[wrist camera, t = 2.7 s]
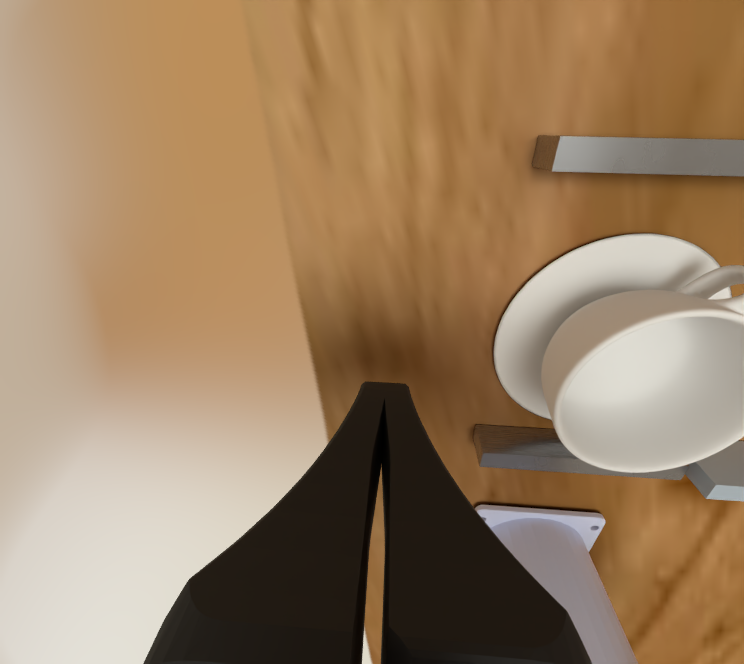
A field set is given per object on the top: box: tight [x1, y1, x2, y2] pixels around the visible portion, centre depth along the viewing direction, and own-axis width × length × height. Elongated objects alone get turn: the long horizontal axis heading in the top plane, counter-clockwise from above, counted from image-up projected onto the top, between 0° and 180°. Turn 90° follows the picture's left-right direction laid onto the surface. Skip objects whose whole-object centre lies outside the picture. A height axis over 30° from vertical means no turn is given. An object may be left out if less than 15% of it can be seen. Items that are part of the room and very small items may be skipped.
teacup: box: [494, 234, 744, 473], centre depth 15 cm, size 10×10×5 cm
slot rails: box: [473, 135, 744, 480], centre depth 15 cm, size 15×10×2 cm, turn 179°
